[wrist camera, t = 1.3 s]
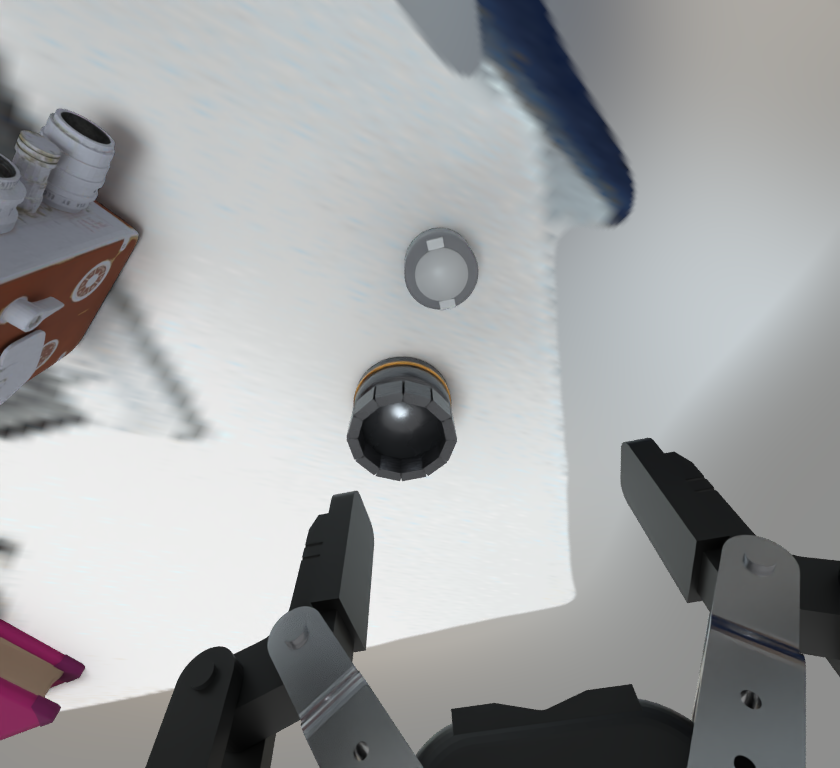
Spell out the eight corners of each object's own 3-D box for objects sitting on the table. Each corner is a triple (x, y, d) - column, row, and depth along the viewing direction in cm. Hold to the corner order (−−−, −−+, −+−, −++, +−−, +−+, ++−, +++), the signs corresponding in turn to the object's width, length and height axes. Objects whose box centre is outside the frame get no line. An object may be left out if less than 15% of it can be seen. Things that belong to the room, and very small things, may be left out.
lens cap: (397, 236, 35) (396, 246, 32) (466, 220, 34) (472, 228, 31) (413, 302, 37) (413, 317, 34) (477, 287, 37) (483, 302, 34)
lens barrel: (342, 367, 40) (332, 405, 35) (439, 346, 39) (445, 382, 34) (370, 444, 45) (364, 489, 39) (457, 427, 44) (465, 470, 38)
